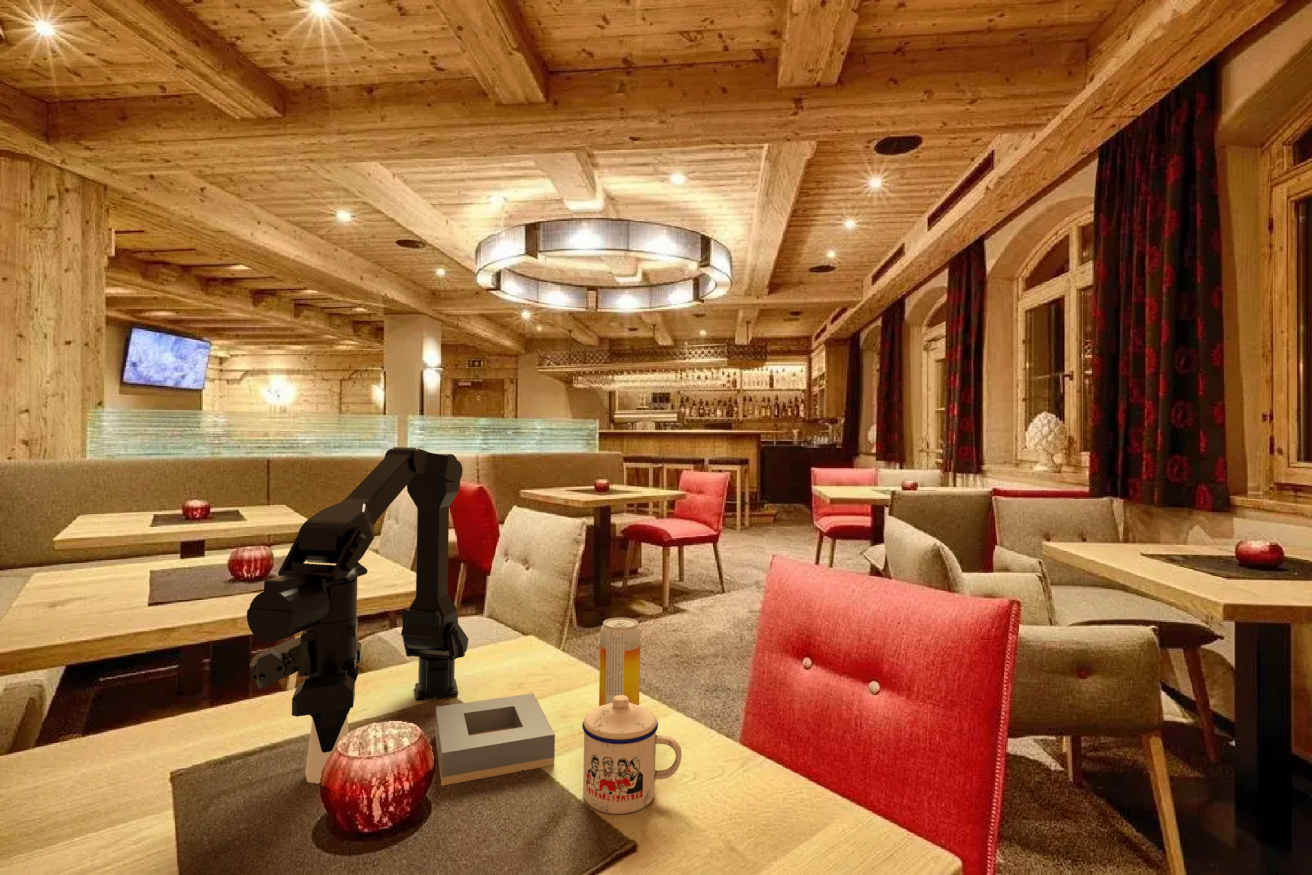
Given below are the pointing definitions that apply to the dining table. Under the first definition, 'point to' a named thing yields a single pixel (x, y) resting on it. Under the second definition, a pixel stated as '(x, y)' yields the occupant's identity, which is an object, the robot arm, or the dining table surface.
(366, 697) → the dining table surface
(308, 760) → the pepper shaker
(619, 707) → the teacup with lid
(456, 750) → the socket block
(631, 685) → the beer can
